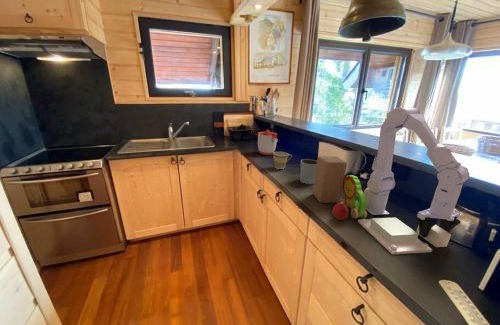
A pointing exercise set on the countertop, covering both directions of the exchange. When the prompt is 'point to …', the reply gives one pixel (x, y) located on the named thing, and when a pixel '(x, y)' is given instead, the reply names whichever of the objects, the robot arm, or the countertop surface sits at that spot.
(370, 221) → the white studded slab
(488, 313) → the countertop surface
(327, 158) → the block
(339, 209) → the onion
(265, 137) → the citrus juicer
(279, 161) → the ceramic cup
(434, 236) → the cream brick
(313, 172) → the grey cylindrical container
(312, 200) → the countertop surface
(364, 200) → the toy lion
